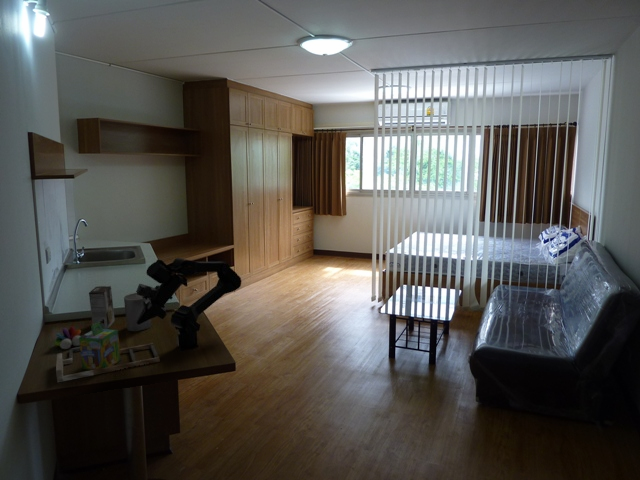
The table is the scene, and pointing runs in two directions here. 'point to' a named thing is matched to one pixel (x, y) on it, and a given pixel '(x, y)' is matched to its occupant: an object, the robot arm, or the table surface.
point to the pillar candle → (135, 312)
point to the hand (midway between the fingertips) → (137, 323)
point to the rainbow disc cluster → (68, 338)
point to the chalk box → (99, 348)
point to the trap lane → (107, 369)
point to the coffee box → (102, 306)
